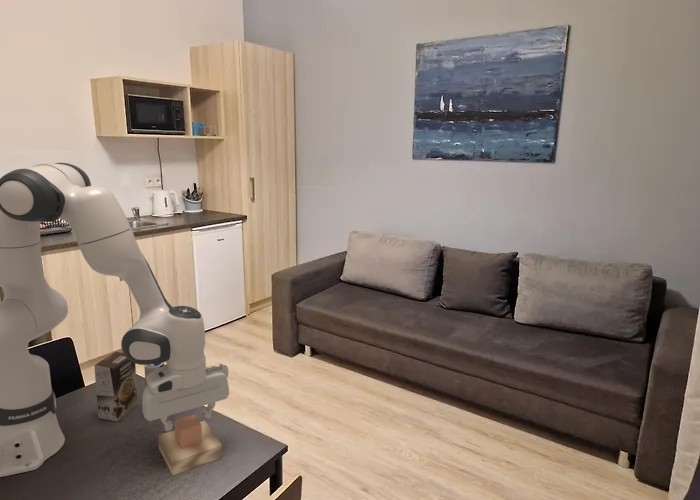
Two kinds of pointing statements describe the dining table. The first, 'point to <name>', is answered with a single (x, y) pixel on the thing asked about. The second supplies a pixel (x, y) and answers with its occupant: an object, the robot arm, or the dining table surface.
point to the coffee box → (115, 386)
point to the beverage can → (152, 369)
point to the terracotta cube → (188, 431)
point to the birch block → (189, 450)
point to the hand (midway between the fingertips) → (188, 423)
